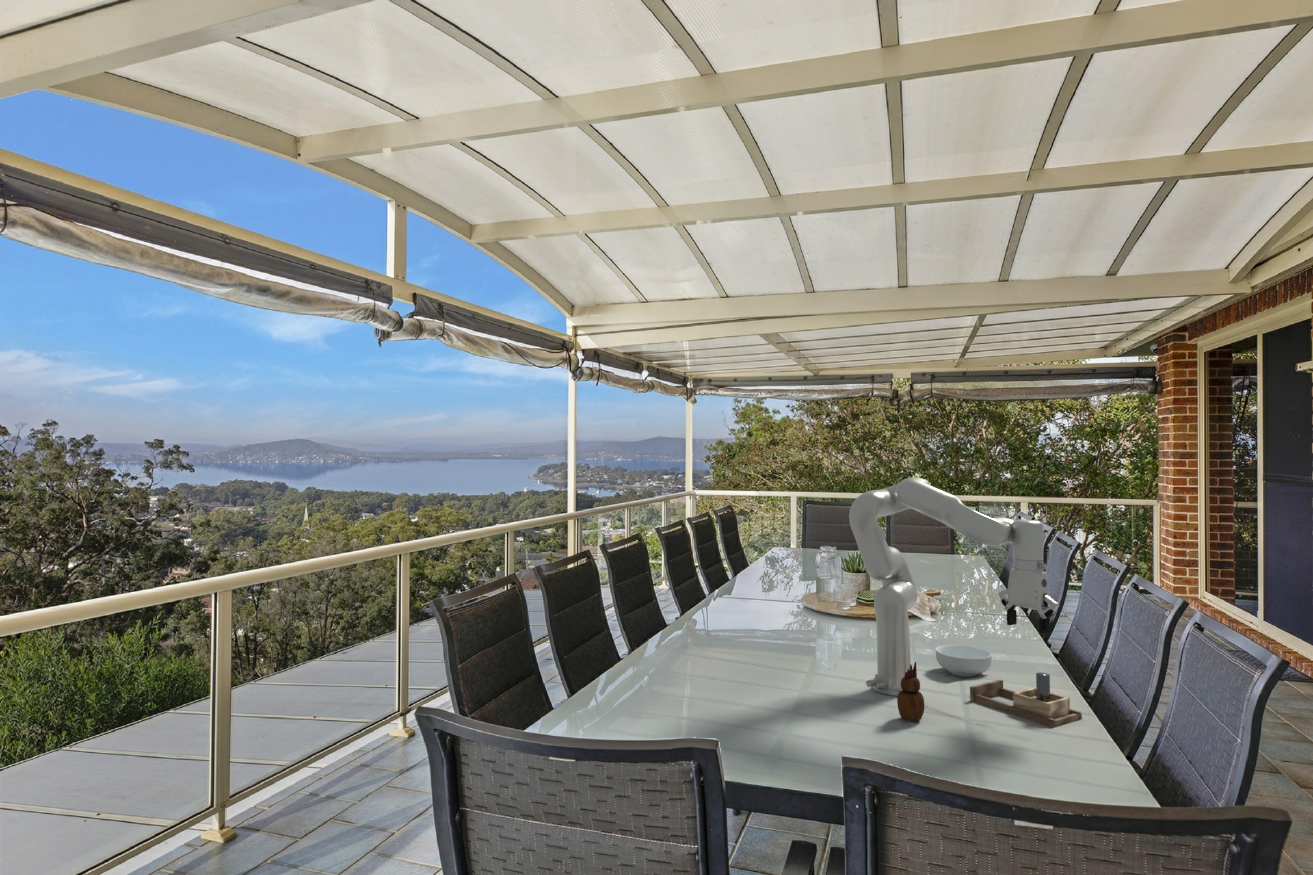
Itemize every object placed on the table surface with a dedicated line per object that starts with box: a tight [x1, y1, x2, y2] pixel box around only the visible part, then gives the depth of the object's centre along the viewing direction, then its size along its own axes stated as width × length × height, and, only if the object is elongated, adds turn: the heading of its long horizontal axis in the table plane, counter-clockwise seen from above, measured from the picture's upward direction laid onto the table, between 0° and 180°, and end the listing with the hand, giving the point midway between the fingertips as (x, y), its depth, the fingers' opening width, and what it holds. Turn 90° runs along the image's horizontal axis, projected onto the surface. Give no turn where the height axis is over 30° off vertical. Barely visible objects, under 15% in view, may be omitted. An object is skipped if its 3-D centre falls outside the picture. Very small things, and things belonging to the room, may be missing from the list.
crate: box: [1012, 687, 1071, 719], centre depth 195 cm, size 9×10×5 cm
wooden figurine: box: [896, 661, 925, 722], centre depth 196 cm, size 7×6×15 cm
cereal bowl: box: [935, 644, 993, 678], centre depth 237 cm, size 17×17×7 cm
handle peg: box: [1035, 671, 1051, 702], centre depth 195 cm, size 3×3×10 cm
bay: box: [969, 679, 1083, 728], centre depth 200 cm, size 13×24×5 cm, turn 29°
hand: (1027, 628), depth 200 cm, fingers open, 9 cm apart
